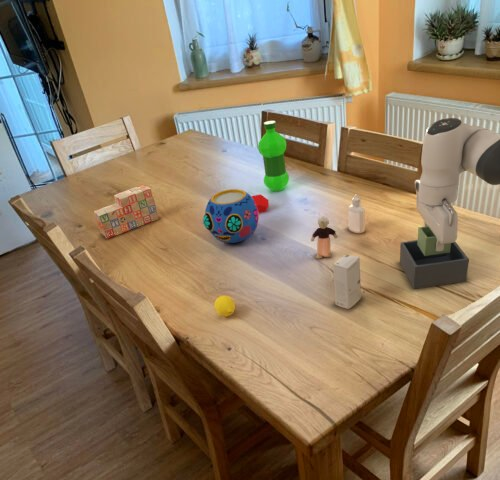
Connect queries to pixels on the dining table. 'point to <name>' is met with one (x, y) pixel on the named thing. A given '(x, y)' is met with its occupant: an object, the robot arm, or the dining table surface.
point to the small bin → (429, 242)
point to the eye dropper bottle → (356, 216)
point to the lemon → (224, 305)
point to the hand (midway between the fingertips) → (433, 242)
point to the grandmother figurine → (323, 237)
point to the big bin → (433, 265)
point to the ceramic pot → (231, 216)
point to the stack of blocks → (127, 211)
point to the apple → (261, 203)
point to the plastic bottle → (273, 158)
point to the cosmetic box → (347, 281)
